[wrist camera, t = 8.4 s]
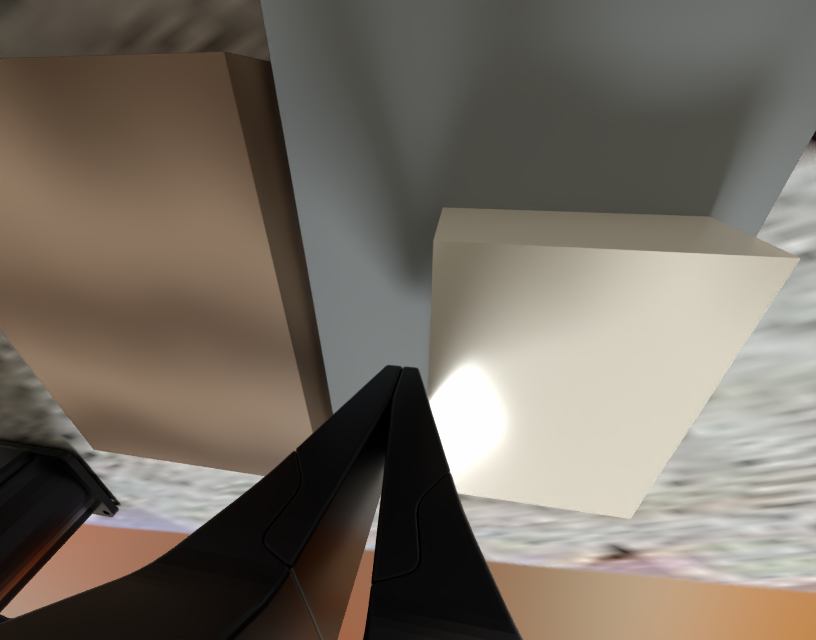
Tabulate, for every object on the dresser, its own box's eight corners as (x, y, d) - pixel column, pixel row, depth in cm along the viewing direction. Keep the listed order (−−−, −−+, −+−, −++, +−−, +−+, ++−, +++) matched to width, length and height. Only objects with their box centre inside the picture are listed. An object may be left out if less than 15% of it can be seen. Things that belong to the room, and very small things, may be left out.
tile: (602, 446, 12) (630, 518, 10) (432, 425, 13) (424, 488, 11) (709, 216, 8) (800, 257, 5) (442, 207, 8) (433, 240, 6)
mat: (595, 494, 14) (601, 512, 14) (348, 458, 16) (343, 474, 15) (861, -23, 6) (910, -40, 5) (278, 5, 7) (259, -4, 7)
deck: (340, 444, 16) (324, 485, 14) (130, 415, 17) (93, 449, 15) (275, 63, 8) (223, 51, 6) (-89, 71, 10) (-208, 64, 8)
